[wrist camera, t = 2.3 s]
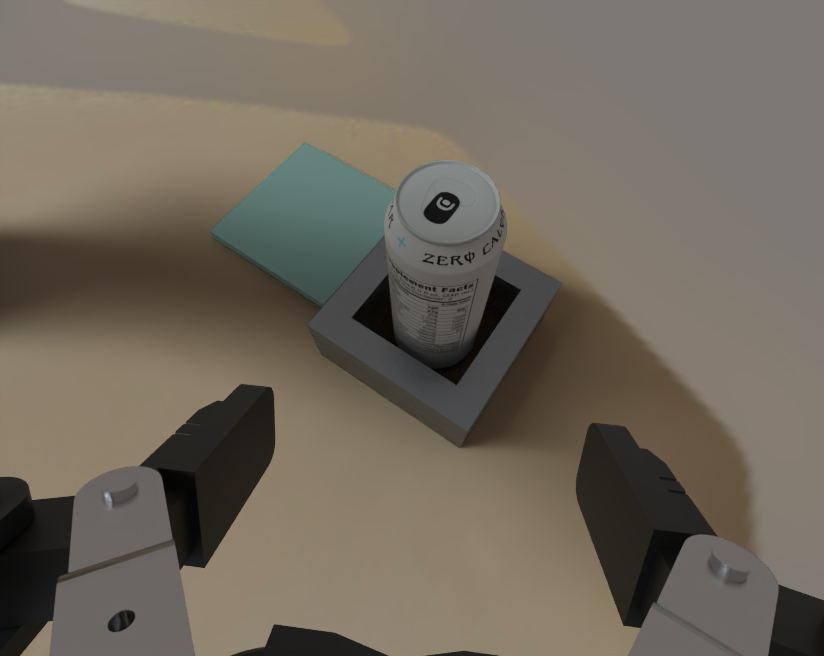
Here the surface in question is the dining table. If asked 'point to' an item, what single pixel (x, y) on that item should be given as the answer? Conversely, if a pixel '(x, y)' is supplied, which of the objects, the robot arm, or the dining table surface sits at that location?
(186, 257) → the dining table surface
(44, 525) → the robot arm
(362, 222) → the mat
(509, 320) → the collar block
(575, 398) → the dining table surface
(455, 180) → the energy drink can
